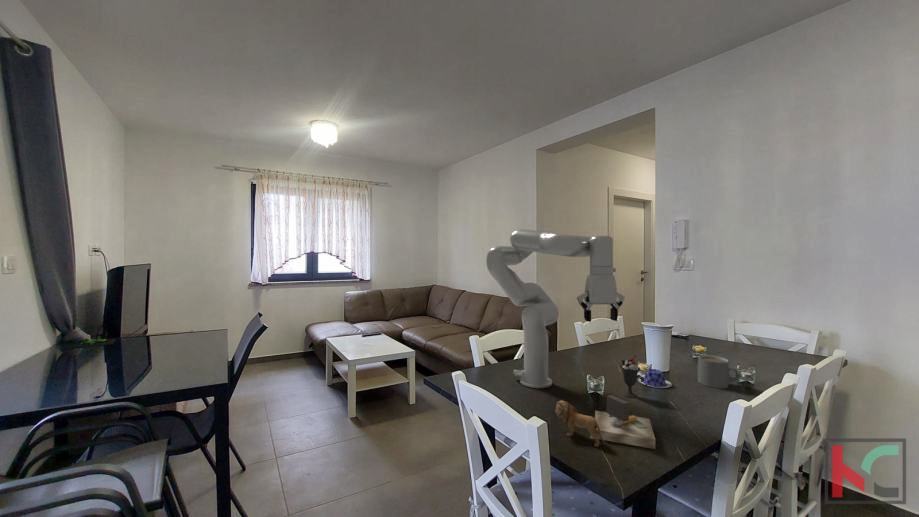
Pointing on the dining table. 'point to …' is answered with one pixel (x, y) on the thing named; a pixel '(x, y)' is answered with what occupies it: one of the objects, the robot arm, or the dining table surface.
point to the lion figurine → (578, 420)
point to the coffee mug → (715, 371)
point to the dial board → (626, 431)
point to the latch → (619, 410)
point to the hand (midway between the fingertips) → (600, 320)
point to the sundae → (630, 375)
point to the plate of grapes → (655, 379)
